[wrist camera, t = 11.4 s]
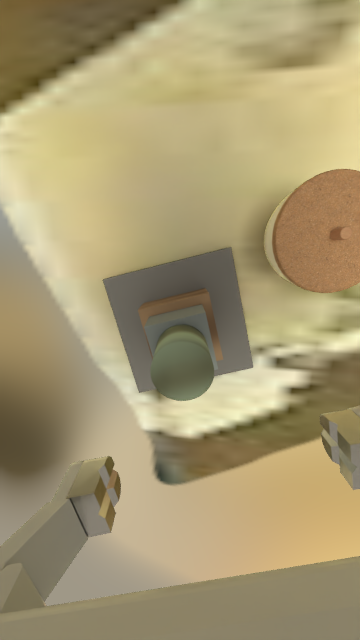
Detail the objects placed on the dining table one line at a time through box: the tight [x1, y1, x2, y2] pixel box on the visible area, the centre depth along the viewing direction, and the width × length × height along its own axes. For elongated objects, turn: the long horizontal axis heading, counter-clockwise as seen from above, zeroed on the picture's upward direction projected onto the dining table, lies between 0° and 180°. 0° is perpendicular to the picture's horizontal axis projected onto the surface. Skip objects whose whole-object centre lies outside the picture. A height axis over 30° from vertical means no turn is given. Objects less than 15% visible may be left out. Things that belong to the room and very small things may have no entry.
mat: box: [103, 247, 253, 393], centre depth 32 cm, size 16×16×1 cm
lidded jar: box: [264, 169, 360, 293], centre depth 26 cm, size 11×11×9 cm
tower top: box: [144, 304, 218, 370], centre depth 26 cm, size 6×6×4 cm
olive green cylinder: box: [150, 324, 214, 401], centre depth 22 cm, size 5×5×5 cm
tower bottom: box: [138, 288, 223, 361], centre depth 30 cm, size 8×8×4 cm
